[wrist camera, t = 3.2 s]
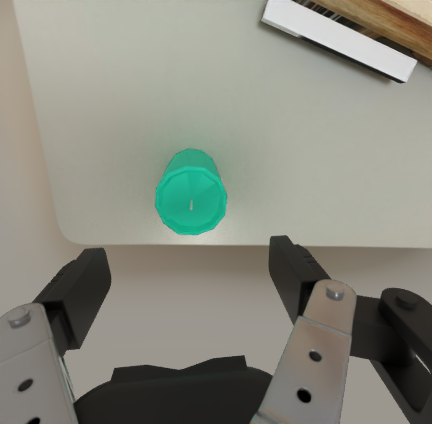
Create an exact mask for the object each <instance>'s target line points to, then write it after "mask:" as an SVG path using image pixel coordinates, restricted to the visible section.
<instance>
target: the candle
mask: <svg viewBox="0 0 432 424" xmlns="http://www.w3.org/2000/svg"><path fill="white" fill-rule="evenodd" d="M226 203H227V194H226V191H225V189H224V186H223V184H222V181H221V179H220V176H219V174H218V172H217V169H216V167H215V164H214V162H213V160H212V158H211V157H209V156H208V155H207V154H206V153H204V152H203V151H202V150H195V149H186V150H184V151H182V152H179V153H177V154H176V155H175V156H174V158H173V159H172V160H171V162H170V163H169V165H168V167H167V169H166V171H165V173H164V174H163V176H162V178H161V180H160V182H159V184H158V186H157V188H156V201H155V207H156V209H157V211H158V213H159V215H160V217H161V219H162V221H163V223H164V224H165V225H167V226H168V227H169V228H171V229H172V230H173V231H175V232H176V233H177V234H182V235H199V234H201V233H204V232H207V231H209V230H212V229H214V228H215V227H216V225H217V224H218V223H219V222H220V220H221V219H222V218H223V217H224V216H225V211H226Z"/></svg>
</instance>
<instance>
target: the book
mask: <svg viewBox="0 0 432 424" xmlns="http://www.w3.org/2000/svg"><path fill="white" fill-rule="evenodd" d="M296 1H297V2H298V4H297V3H295V2H293V1H291V0H268V1H267V4H266V7H265V10H264V13H263V16H262V19H261V21H262V22H265V23H267V24H269V25H271V26H273V27H276V28H278V29H280V30H282V31H285V32H287V33H289V34H291V35H293V36H296V37H298V38H300V39H302V40H305V41H307V42H309V43H311V44H314V45H316V46H318V47H320V48H322V49H325V50H327V51H329V52H331V53H334V54H336V55H338V56H340V57H342V58H345V59H347V60H349V61H351V62H354V63H356V64H358V65H360V66H362V67H365V68H367V69H369V70H371V71H374V72H376V73H378V74H380V75H382V76H385V77H387V78H389V79H391V80H394V81H396V82H398V83H405V82H407V80H408V78H409V76H410V74H411V72H412V70H413V69H414V67H415V65H416V63H417V60H415V59H413V58H410V57H408V56H406V55H404V54H402V53H400V52H398V51H396V50H394V49H392V48H390V47H387V46H385V45H383V44H381V43H379V42H377V41H375V40H374V39H376V38H379V37H381V36H384V37H386V38H388V39H390V40H392V41H394V42H397V43H399V44H401V45H403V46H405V47H407V48H409V49H411V54H412V55H414V56H415V57H416V58H418V59H419V60H421V61H422V62H423V63H425V64H427V65H428V66H430V67H432V0H296ZM312 10H313V11H312ZM316 12H317V13H316ZM320 14H321V15H320Z"/></svg>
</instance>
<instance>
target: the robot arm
mask: <svg viewBox="0 0 432 424" xmlns="http://www.w3.org/2000/svg"><path fill="white" fill-rule="evenodd" d="M269 272H270V276H271V278H272V280H273V282H274V284H275V287H276V289H277V291H278V293H279V295H280V297H281V300H282V302H283V304H284V306H285V308H286V310H287V312H288V314H289V317H290V319H291V321H292V323H293V325H294V327H293V330H292V332H291V335H290V337H289V340H288V342H287V344H286V347H285V349H284V351H283V354H282V356H281V359H280V361H279V363H278V366H277V368H276V370H275V373H274V375H273V376H272V375H270V374H269V373H267V372H264V371H262V370H260V369H256V368H253V367H247V365H246V361H245V356H244V355H243V356H232V357H222V358H213V359H210V360H207V361H204V362H202V363H199V364H196V365H194V366H190V367H187V368H185V369H181V370H176V369H170V368H164V367H157V366H151V365H140V366H130V367H120V368H114V371H113V375H112V378H111V380H110V381H108V382H105V383H103V384H101V385H99V386H97V387H95V388H94V389H92V390H90V391H89V392H87V393H86V394H84V395H83V396H81V397H80V398H79V399H78V400H77V397H76V394H75V391H74V388H73V384H72V382H71V378H70V376H69V372H68V369H67V366H66V363H65V360H64V358H63V356H64V354H65V352H66V351H67V350H74V349H80V347H81V345H82V343H83V341H84V339H85V337H86V335H87V333H88V331H89V329H90V327H91V325H92V323H93V321H94V319H95V317H96V315H97V313H98V311H99V309H100V307H101V305H102V303H103V301H104V299H105V297H106V295H107V293H108V291H109V289H110V286H111V273H110V269H109V265H108V261H107V256H106V252H105V250H104V248H89V249H85V250H84V251H83V252H82V253H81V254H80V255H79V257H78V258H77V259H76V260H73V261H71V262H70V263H68V264H67V265H65V266H64V267H62V269H61V270H60V271H59V272H58V273H57V274H56V276H55V277H54V278H53V279H52V280H51V282H50V283H48V285H47V286H46V287H45V288H44V289H43V290H42V291H41V293H40V294H39V295H38V296H37V297H36V298H35V300H34V301H33V302H32V303H29V304H24V305H21V306H18V307H16V308H14V309H12V310H10V311H8V312H7V313H5V314H4V315H3V316H1V317H0V424H340V417H341V411H342V404H343V397H344V390H345V383H346V376H347V369H348V362H349V356H355V357H359V358H364V359H369V360H370V362H371V363H372V365H373V367H374V368H375V370H376V371H377V373H378V374H379V376H380V377H381V379H382V381H383V382H384V384H385V385H386V387H387V388H388V390H389V391H390V393H391V394H392V396H393V398H394V399H395V401H396V402H397V404H398V405H399V407H400V408H401V410H402V412H403V413H404V415H405V416H406V418H407V420H408V421H409V423H410V424H432V305H431V304H430V303H429V302H427V301H426V300H425V299H424V298H422V297H420V296H419V295H417V294H415V293H413V292H411V291H408V290H405V289H400V288H387V289H385V290H383V291H382V294H381V298H380V299H379V298H372V297H364V296H359V295H356V293H355V291H354V290H353V289H352V288H351V287H350V286H348V285H347V284H345V283H343V282H340V281H337V280H332V279H331V278H330V277H329V276H328V274H327V273H326V272H325V271H324V269H323V268H322V267H321V266H320V265H319V264H318V263H317V261H316V260H315V259H314V257H312V255H311V254H310V253H309V251H308V250H307V249H305V248H304V247H302V246H300V245H299V244H297V245H294V244H293V243H292V241H291V240H290V239H289V238H288V236H287V235H283V236H271V238H270V246H269ZM416 354H417V356H418V357H419V358H420V359H421V360H422V361H423V362H424V364H425V365H426V366H427V368H428V369H429V371H430V373H431V374H430V373H429V372H428V370H427V369H426V368H425V367H424V366H423V365H422V363H421V362H420V361H419V360H418V358H417V357H416Z"/></svg>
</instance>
